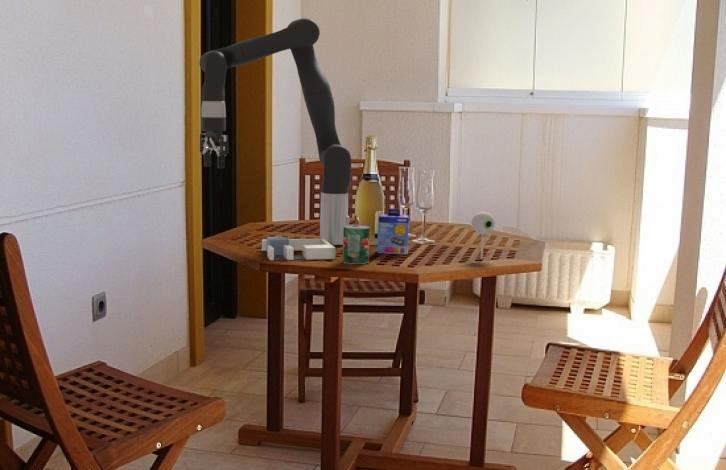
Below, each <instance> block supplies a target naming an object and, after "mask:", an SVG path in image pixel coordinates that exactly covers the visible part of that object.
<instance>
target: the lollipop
mask: <svg viewBox="0 0 726 470" xmlns="http://www.w3.org/2000/svg"><path fill="white" fill-rule="evenodd" d="M495 224H496V222H495V217H494V216H493V215H492V214H491V213H489V212H487V211H479V212H478V213H475V214H474V215H473V217H472V219H471V227H472V229H473V230H474V231H475V232H476V233H478V234H479V235H481V239H480V260H483V257H484V237H485V235H487V234H490V233H491V232H492V231H493V230H494V228H495V226H496V225H495Z"/></svg>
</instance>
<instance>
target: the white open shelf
mask: <svg viewBox="0 0 726 470" xmlns="http://www.w3.org/2000/svg"><path fill="white" fill-rule="evenodd" d="M288 239H289V245H284V255H279V256H274V248H273V247H272V246H268V253H267V258H268V259H269V260H270V261H291V260H292V261H297V260H307V261H308V260H336V247H335V245H331V244H330V243H329V242H327V241H326V240H325V239H320V238H288ZM261 251H262V252H267V238H266V239H261ZM294 251H302V255H294ZM286 259H287V260H286Z"/></svg>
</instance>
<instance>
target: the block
mask: <svg viewBox="0 0 726 470" xmlns="http://www.w3.org/2000/svg"><path fill="white" fill-rule="evenodd" d="M266 239H267V251H266V253H267V254H268V246H272V247H273V248H274V256H278V255H279V256H284V245H289V239H290V238H288V237H286V236H267V237H266Z"/></svg>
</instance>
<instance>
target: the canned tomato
mask: <svg viewBox="0 0 726 470" xmlns="http://www.w3.org/2000/svg"><path fill="white" fill-rule="evenodd" d="M370 227H371V226H369V225H366V224H358V223H357V224H356V223H355V224H349V225H344V234H343V235H344V236H343V245H342V246H343V247H342V249H343V250H342V263H344V264H346V263H347V265H352V264H362V265H367V264H366V263H368V264H369V262H370V261H369V260H370V259H369V257H370V256H369V255H370V253H369V252H370Z"/></svg>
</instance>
